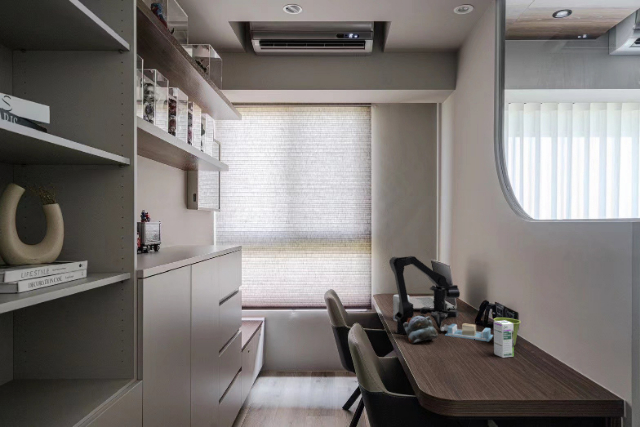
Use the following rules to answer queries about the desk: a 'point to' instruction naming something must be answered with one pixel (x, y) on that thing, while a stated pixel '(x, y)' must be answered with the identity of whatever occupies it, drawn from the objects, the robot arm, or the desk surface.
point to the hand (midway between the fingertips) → (439, 328)
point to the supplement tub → (396, 305)
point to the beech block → (468, 329)
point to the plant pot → (515, 325)
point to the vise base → (479, 336)
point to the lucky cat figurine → (420, 329)
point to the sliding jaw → (449, 328)
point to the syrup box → (503, 339)
